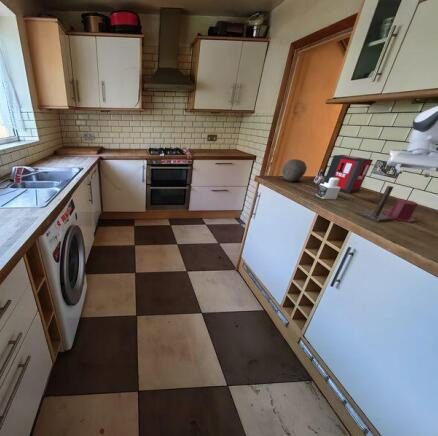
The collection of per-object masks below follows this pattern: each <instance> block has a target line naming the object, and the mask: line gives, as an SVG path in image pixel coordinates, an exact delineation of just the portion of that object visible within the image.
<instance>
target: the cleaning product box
mask: <svg viewBox="0 0 438 436" xmlns="http://www.w3.org/2000/svg"><path fill="white" fill-rule="evenodd" d="M372 163H373V159H370V158H366V157H365V158H364V157H358V156H354V155H346V154H334V155H333V157H332V158H331V162H330V165H329V167H328V170H327V172H326V175H325V178H324V180H323V183H322V184H325V183H324V182H325V179H326V177H328V176H333V177H337V178H339V182H338V184H337V185H336V186H338V187H340V190H339V192H344V193H347V194H353V193H354V194H355V193H359V191H360V190H361V187H362V185H363V184H364V180H365V178H366V176H367V174H368V172H369V169H370V167H371V165H372Z"/></svg>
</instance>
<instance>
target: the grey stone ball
mask: <svg viewBox="0 0 438 436" xmlns="http://www.w3.org/2000/svg"><path fill="white" fill-rule="evenodd" d="M307 168H308V167H307V164H306V162H305V161H303V160H301V159H297V158H296V159H295V158H293V159H289V160H287V161H286V162H285V163H284V165H283V166H282V169H281V175H282V177H283V179H284V180H285V181H287V182H291V183H293V182H296V181H299V180H300V179H301V178H302V177H304V175H305V174H306V172H307Z"/></svg>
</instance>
